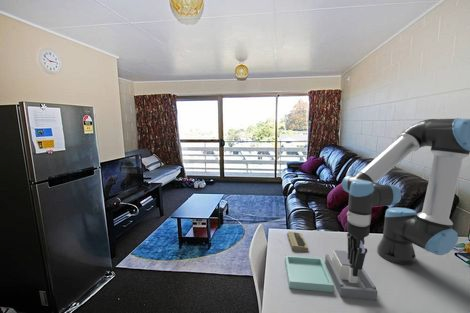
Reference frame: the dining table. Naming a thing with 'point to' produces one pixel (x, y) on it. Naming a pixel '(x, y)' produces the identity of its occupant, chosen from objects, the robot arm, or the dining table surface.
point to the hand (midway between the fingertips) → (352, 281)
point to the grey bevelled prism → (341, 263)
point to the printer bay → (352, 292)
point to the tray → (308, 274)
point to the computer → (297, 241)
